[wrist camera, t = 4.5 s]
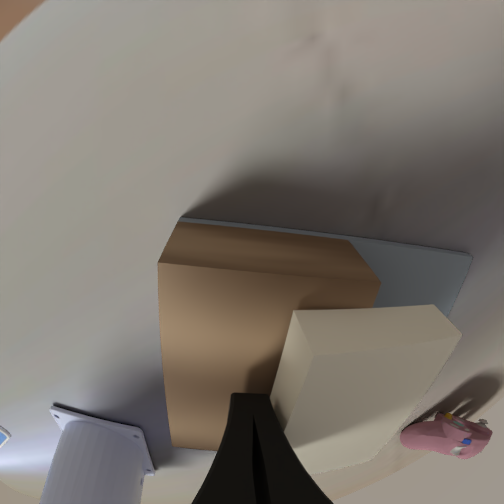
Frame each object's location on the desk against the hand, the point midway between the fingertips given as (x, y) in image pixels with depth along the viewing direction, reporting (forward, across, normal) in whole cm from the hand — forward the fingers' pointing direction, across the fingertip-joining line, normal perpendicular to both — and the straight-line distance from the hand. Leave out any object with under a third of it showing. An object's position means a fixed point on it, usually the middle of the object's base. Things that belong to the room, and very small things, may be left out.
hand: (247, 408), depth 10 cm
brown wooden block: (+5, 0, 0) cm, 5 cm away
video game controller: (+5, -20, +12) cm, 24 cm away
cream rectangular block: (+1, -4, 0) cm, 4 cm away
